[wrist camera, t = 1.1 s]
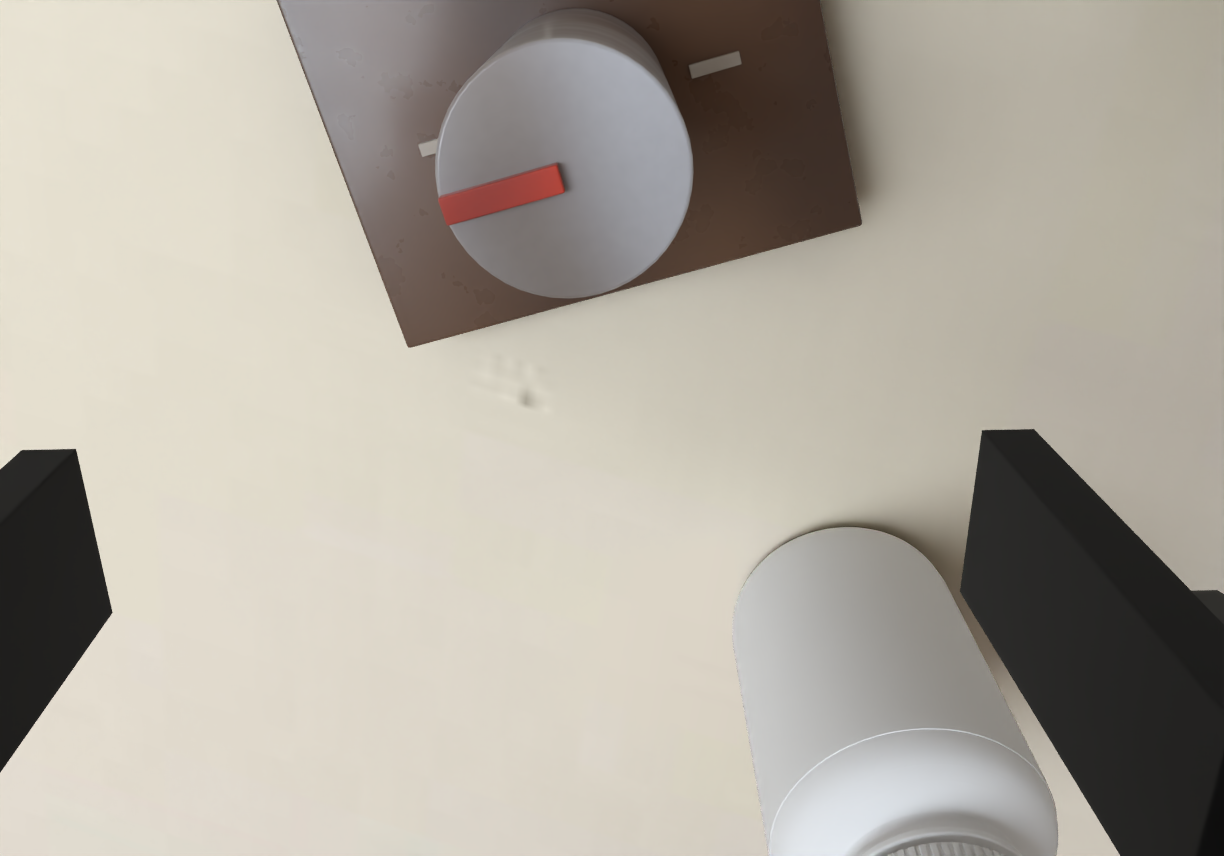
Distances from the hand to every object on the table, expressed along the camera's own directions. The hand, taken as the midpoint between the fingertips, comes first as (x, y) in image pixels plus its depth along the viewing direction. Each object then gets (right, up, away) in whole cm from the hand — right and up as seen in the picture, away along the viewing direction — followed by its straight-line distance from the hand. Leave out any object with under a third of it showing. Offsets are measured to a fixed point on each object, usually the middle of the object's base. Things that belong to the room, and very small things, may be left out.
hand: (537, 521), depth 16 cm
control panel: (0, +11, +16) cm, 20 cm away
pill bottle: (+9, -5, +24) cm, 26 cm away
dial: (0, +10, +14) cm, 17 cm away
